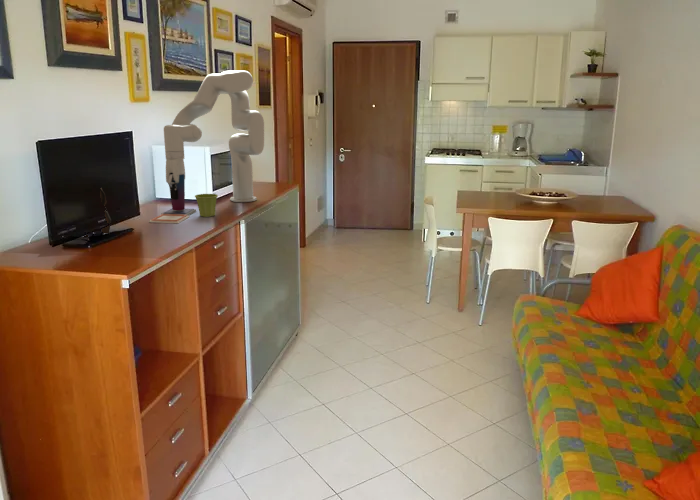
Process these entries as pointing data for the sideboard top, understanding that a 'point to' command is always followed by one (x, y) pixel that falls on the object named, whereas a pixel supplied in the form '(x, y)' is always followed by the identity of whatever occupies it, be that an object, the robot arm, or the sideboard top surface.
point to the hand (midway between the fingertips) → (177, 197)
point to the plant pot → (206, 204)
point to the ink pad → (180, 212)
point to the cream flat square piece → (169, 218)
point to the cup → (179, 194)
